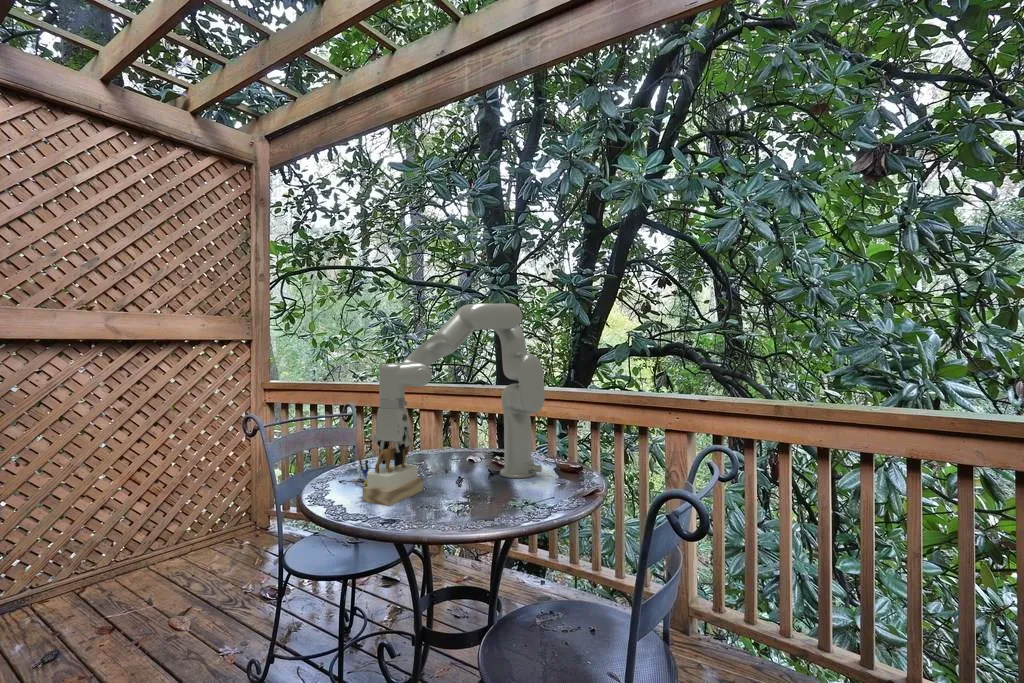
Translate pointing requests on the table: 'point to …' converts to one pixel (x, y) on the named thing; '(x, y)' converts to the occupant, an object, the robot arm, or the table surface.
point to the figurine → (363, 472)
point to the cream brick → (392, 477)
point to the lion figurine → (390, 457)
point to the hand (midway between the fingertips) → (392, 463)
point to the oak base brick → (392, 493)
